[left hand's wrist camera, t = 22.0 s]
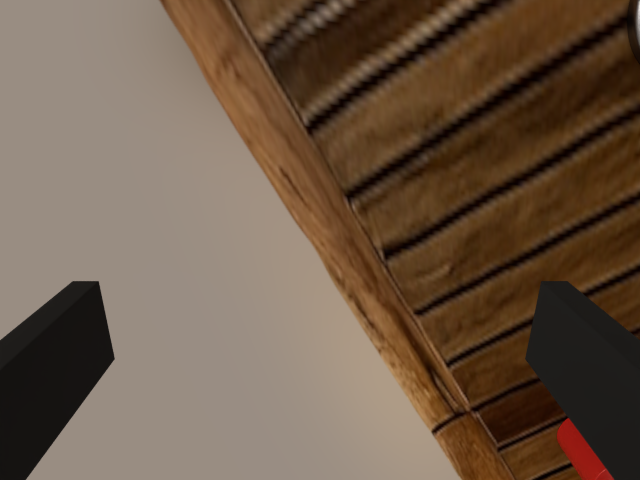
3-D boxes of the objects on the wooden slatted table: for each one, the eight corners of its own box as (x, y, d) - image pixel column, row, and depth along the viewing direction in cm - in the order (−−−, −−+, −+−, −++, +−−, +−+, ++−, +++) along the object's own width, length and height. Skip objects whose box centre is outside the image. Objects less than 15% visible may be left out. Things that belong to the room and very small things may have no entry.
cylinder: (565, 460, 60) (600, 515, 52) (550, 422, 58) (584, 474, 50) (619, 441, 59) (664, 494, 51) (606, 402, 56) (651, 452, 49)
